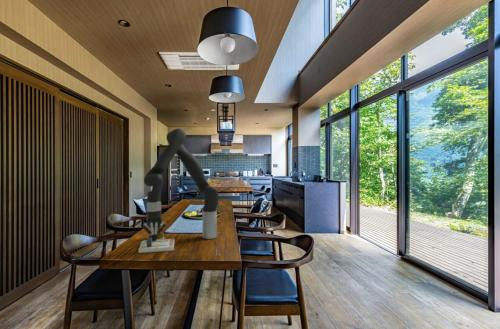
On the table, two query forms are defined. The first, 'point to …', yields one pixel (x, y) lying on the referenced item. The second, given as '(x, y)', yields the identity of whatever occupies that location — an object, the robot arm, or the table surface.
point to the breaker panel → (157, 246)
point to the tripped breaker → (149, 242)
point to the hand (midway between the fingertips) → (154, 240)
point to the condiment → (161, 234)
